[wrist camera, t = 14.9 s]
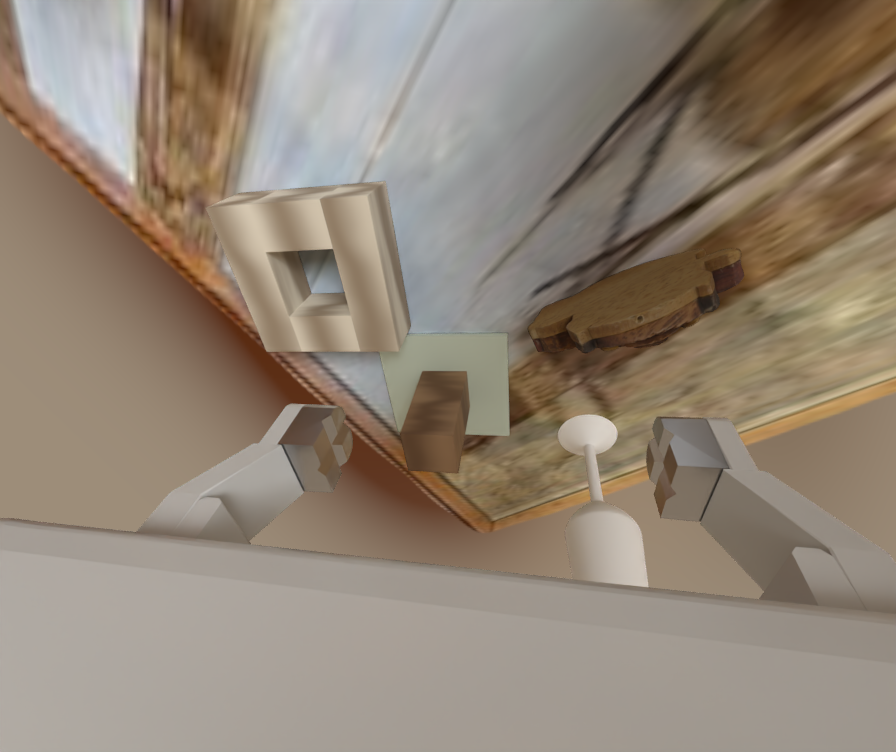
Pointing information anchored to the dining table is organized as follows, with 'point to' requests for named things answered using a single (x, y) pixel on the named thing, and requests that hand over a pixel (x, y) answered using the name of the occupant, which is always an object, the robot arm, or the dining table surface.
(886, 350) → the dining table surface
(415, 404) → the walnut peg
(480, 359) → the sage mat
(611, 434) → the champagne flute
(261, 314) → the pocket block
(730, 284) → the wooden carving
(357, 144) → the dining table surface
